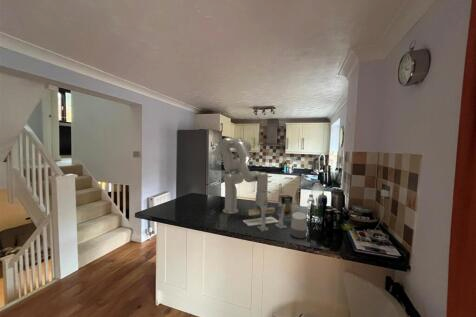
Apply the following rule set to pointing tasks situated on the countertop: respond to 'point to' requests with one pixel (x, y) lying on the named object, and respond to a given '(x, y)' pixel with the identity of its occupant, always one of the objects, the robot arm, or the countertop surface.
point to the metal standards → (263, 214)
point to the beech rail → (257, 211)
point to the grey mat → (258, 221)
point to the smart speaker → (299, 225)
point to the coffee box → (288, 208)
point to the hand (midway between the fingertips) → (261, 215)
